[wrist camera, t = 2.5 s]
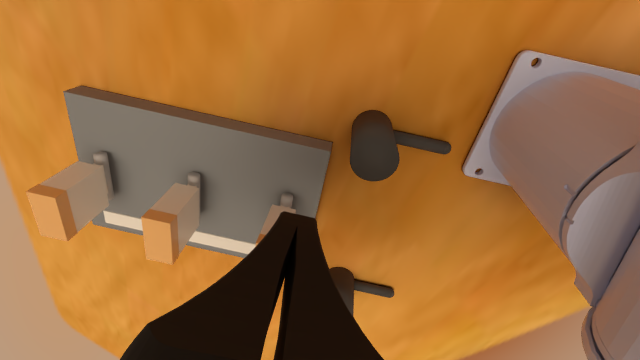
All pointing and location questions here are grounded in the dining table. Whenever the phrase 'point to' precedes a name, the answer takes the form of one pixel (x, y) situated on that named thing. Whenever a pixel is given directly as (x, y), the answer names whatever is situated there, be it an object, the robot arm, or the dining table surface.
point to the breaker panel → (195, 165)
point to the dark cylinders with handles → (376, 177)
